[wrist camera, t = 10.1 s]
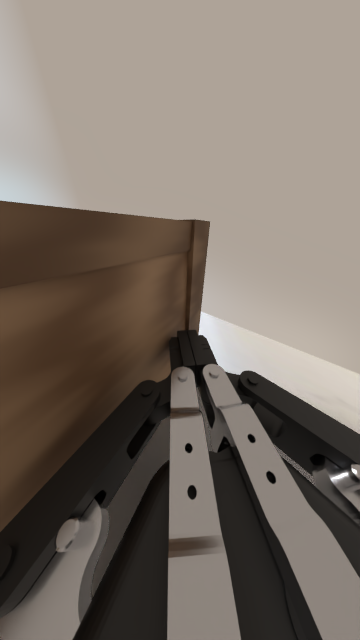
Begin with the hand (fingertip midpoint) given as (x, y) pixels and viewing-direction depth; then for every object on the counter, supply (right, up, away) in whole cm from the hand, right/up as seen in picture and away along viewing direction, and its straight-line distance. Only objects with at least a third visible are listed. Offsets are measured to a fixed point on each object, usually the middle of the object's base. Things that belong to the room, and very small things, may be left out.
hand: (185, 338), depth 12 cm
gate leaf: (-4, -8, 0) cm, 9 cm away
